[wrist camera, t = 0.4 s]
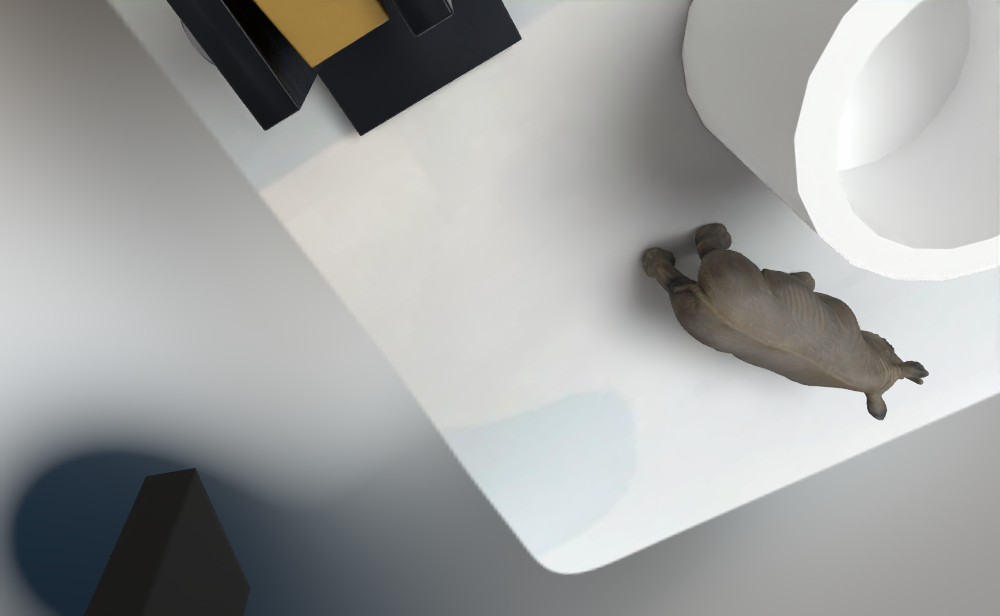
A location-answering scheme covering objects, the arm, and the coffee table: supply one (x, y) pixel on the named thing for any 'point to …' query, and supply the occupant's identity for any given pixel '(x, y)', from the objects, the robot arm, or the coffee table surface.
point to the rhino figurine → (777, 321)
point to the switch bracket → (348, 55)
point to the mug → (863, 121)
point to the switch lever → (323, 23)
